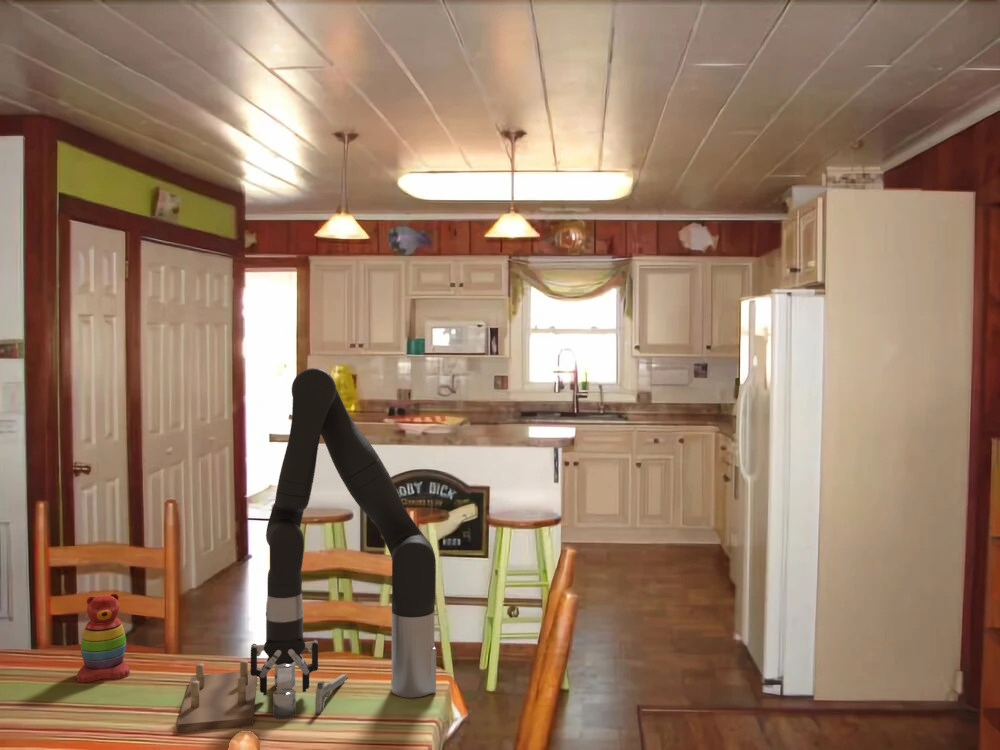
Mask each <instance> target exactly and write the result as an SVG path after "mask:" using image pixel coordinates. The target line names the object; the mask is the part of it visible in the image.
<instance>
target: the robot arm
mask: <svg viewBox="0 0 1000 750" xmlns="http://www.w3.org/2000/svg"><path fill="white" fill-rule="evenodd" d="M291 395H292V407H291V408H292V410H291V411H292V415H291V423H290V430H289V436H288V440H287V445H286V449H285V454H284V455H283V456H284V457H283V460H282V464H281V468H280V472H279V477H278V482H277V488H276V493H275V499H274V500H275V501H274V502H273V503H274V504H273V506H272V509H271V512H270V514H269V515H270V516H269V519H268V522H267V527H266V532H265V534H266V535H265V539H266V540H265V541H266V542H267V544H268V546H269V557H270V558H269V559H270V560H269V564H270V565H269V570H268V573H267V594H266V595H267V597H266V607H265V608H266V609H265V611H266V612H265V617H266V618H265V619H266V621H265V622H266V623H265V626H266V627H265V629H266V630H265V632H266V633H265V634H266V635H265V636H266V637H265V643H264V644H258V645H257V643H252V644H251V645H250V671H251V675H252V676H258V678H259V692H260V693H261V694H262V693H263V696H267V695H268V673H269V672H270V670H272V668H273V666H275V664H277V665H281V664H284V663H286V664H292V663H293V662H294V663H295V665H296V666H297V667H298V668H299V669H300V671H302V675H301V676H302V680H301V681H302V684H301V687H302V693H305V692H306V691H307V690H309V688H310V674H311V673H312V672H316V671H318V670H319V644H318V640H317V639H316V638H315V639H313V640H312V641H305V640H304V602H303V594H302V593H303V585H302V583H303V581H302V580H303V579H302V578H303V577H302V568H303V560H304V551H305V539H304V538H305V537H304V533H303V531H302V529H301V525H302V521H303V515H304V511H305V510H306V508H308V505H309V503H310V499H311V495H312V490H313V483H314V479H315V478H314V477H315V472H316V465H317V457H318V451H319V444H320V438H322V440H323V442H324V444H325V446H326V448H327V452H328V455H329V456H330V458H331V461H332V463H333V465H334V467H335V470H336V471H337V474H338V475H339V477H340V479H341V481H342V482H343V484H344V486H345V487H346V489H347V491H348V492H349V495H350V496H351V497H352V498H353V500H354V501H355V502H356V504H357V505H358V507H359V508H360V509H361V510H362V511H363V512H364V514H365V515H366V516H367V517H368V518H369V519H370V520H371V521H372V523H373V524H374V525H375V527H376V528H377V530H378V531H379V533H380V534H381V536H382V537H381V538H382V539H383V541H384V543H385V545H386V547H387V549H388V552H389V554H390V557H391V682H390V683H391V692H392V694H394V695H395V696H398V697H402V698H409V699H410V698H420V697H425V696H428V695H430V694H436V692H437V648H436V646H435V616H436V615H435V608H436V606H435V603H436V591H437V590H436V589H437V588H436V586H437V583H436V581H437V575H436V573H437V564H436V563H437V562H436V561H437V559H436V554H435V551H434V548H433V546H432V544H431V543H430V541H429V540H428V538H427V537H426V535H424V533H423V532H422V530H421V529H420V528H419V527H418V526H417V524H416V523H415V521H414V520H413V519H412V517H411V516H410V514H409V513H408V511H407V509H406V507H405V504H403V503H404V502H403V501H402V499H401V496H400V494H399V492H398V490H397V489H398V488H396V485H395V483H394V482H393V479H392V477H391V476H390V474H389V472H388V470H387V468H386V466H385V465H384V462H383V461H382V459H381V458H380V456H379V455H378V453H377V451H376V450H375V449H374V447H373V445H372V444H371V443H370V441H369V439H367V438H366V436H365V435H364V434H363V433H362V431H361V430H360V429H359V427H358V426H357V425H356V423H355V422H354V421H353V419H352V417H351V416H350V415H349V412H348V411H347V408H346V406H345V404H344V402H343V400H342V398H341V396H340V394H339V390H338V388H337V385H336V382H335V379H334V378H333V376H332V375H331V374H330V373H329V372H328V371H326V370H324V369H321V368H317V367H312V368H307V369H304V370H303V371H301V372H299V373H298V374H297V375H296V376H295V378H294V380H293V382H292V384H291ZM305 649H308V650H307V651H308V652H309V653H311V663H309V664H308V663H307V662H306V661H305V659H304V657H303V655H302V653H303V651H304V650H305ZM263 651H264V653H265V654H266V655H267V656H268V657H267V658H266V660H265V662H264V663H263V666H262V667H261V668H260V667H258V657H260V656H261V654H262V652H263Z"/></svg>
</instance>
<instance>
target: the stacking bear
mask: <svg viewBox="0 0 1000 750" xmlns="http://www.w3.org/2000/svg"><path fill="white" fill-rule="evenodd" d="M86 605H87V608H86V613H87V617H88V619H89V621H88V622H87V623H86V625H85V627H84V628H83V632H82V636H81V641H80V654H81V657H82V662H83V665H82V667H80V668H79V670H78V671H77V673H76V682H77V683H82V684H83V683H91V682H94V681H99V680H105V679H114V680H115V679H116V680H117V679H118V680H119V679H123V678H126V677H127V676H129V675H130V673H131V672H130V667H129V665H128V663H127V662H126V661H124V658H125V653H126V652H125V651H126V647H127V638H126V637H127V636H126V632H125V629H124V625H123V623H122V620H121V619H120V618H118V615H119V612H120V603H119V595H118V594H117V593H111V594H99V595H97V596H92V595H91V596H89V597H88V598H86Z"/></svg>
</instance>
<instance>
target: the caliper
mask: <svg viewBox="0 0 1000 750" xmlns="http://www.w3.org/2000/svg"><path fill="white" fill-rule="evenodd" d="M347 677H348V678H349V676H348V675H347V674H346V673H345V674H344V673H342V674H341V675H338V677H336V678H334V679H333V680H331V681H330V682H325V681H318V682H317V683H316V684H317V685H316V689H315V699H314V700H315V703H314V704H315V709H314V710H315V715H316V714H322V712H324V710H325V703H326V698H329V697H330V696H331V692H333V690H335V689H336V688H338V687H340V686H341V685H343V684H344V683H345V682H346V681H347V679H348V678H347ZM346 678H347V679H346ZM345 680H346V681H345ZM344 681H345V682H344ZM343 682H344V683H343Z"/></svg>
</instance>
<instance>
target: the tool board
mask: <svg viewBox="0 0 1000 750" xmlns="http://www.w3.org/2000/svg"><path fill="white" fill-rule="evenodd" d="M239 662H240V663H239V668H240V670H239V671H231V672H219V673H207V674H205V663H196V665H195V674H194V675H193V674H192V675H191V677H190V681H189V684H188V687H187V689H186V694H185V697H184V700H183V703H182V707H181V710H180V712H179V713H180V714H179V716H178V720H177V723H176V733H182V732H183V733H185V732H193V731H194V732H195V731H196V732H197V731H205V730H215V729H216V730H217V729H225V728H226V729H228V728H229V729H231V728H239V727H249V726H250V727H251V726H252V727H253V724H254V717H255V716H254V715H255V708H256V705H255V704H256V697H257V696H256V695H257V688H256V687H257V685H258V678H259V677H258V676H252V675H251V670H249V661H248V660H244V659H243V660H240V661H239ZM257 677H258V678H257Z"/></svg>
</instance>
